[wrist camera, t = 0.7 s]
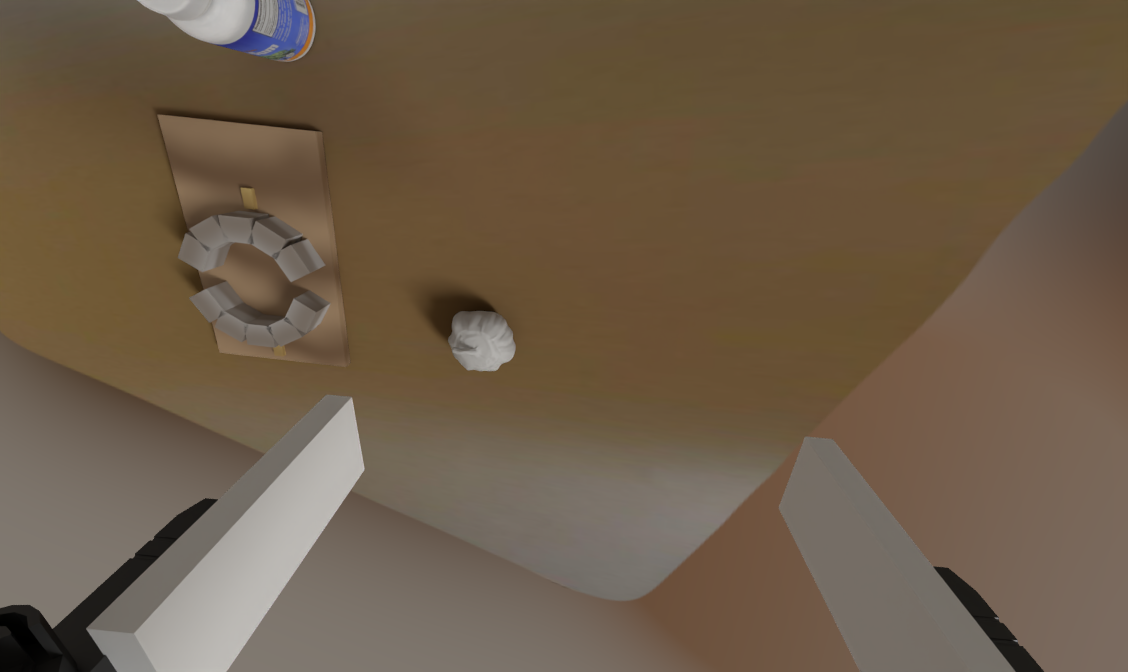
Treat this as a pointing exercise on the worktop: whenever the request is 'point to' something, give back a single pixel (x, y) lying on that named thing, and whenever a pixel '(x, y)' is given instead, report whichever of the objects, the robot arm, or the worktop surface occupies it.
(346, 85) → the worktop surface
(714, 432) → the worktop surface
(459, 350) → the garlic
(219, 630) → the robot arm
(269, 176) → the socket board
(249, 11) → the pill bottle
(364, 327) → the worktop surface
